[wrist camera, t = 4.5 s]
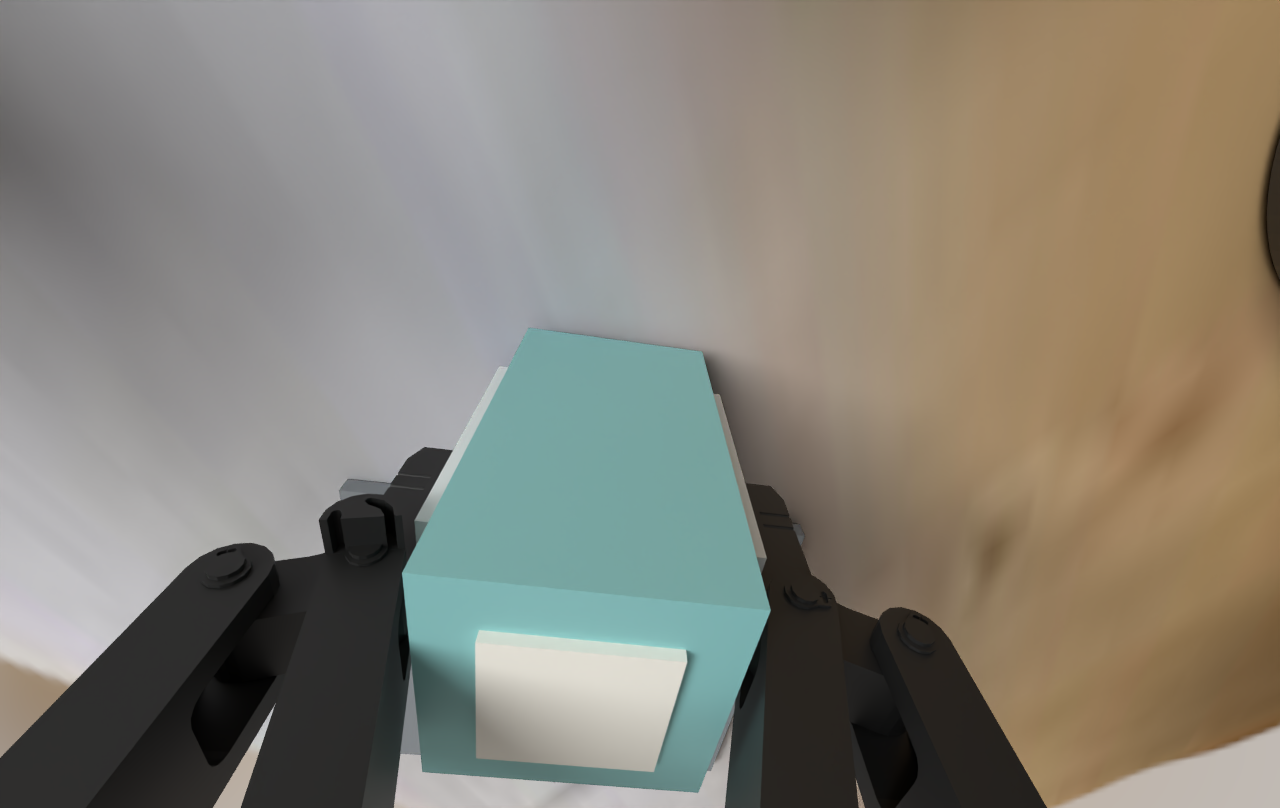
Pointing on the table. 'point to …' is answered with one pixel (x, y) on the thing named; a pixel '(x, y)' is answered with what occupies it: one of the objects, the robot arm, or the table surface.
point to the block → (586, 576)
